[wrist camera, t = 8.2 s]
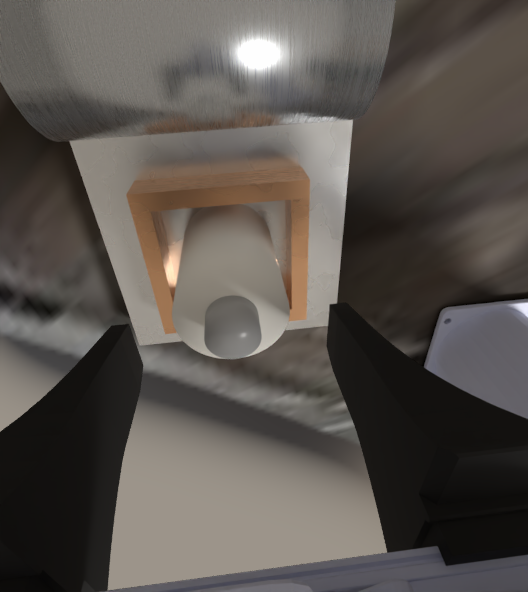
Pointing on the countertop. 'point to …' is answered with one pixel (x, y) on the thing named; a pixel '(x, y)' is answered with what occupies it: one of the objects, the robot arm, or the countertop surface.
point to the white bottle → (229, 284)
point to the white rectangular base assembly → (202, 125)
